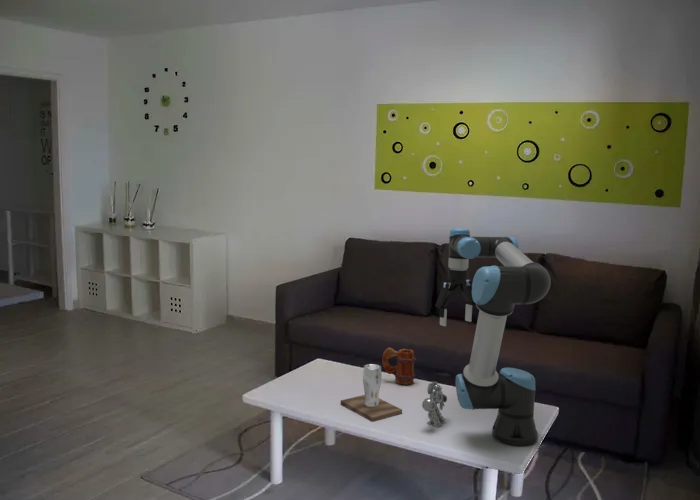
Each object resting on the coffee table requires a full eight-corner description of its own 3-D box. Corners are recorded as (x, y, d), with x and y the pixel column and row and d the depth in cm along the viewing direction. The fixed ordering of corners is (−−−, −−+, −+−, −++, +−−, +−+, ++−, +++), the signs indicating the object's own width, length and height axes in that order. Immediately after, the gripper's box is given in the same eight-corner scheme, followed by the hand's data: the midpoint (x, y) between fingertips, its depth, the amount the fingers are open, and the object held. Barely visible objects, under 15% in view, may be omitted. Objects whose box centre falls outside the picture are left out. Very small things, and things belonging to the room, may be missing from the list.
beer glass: (359, 402, 244) (360, 364, 242) (376, 400, 246) (377, 363, 244) (366, 409, 237) (367, 370, 235) (383, 407, 240) (384, 368, 238)
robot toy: (433, 433, 221) (434, 391, 219) (417, 429, 224) (418, 388, 222) (450, 419, 233) (451, 380, 231) (434, 416, 236) (436, 376, 234)
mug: (415, 380, 275) (417, 346, 273) (416, 386, 267) (417, 351, 265) (381, 378, 277) (382, 344, 275) (380, 385, 269) (381, 350, 267)
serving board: (402, 413, 238) (402, 409, 238) (372, 421, 230) (372, 417, 230) (369, 397, 254) (369, 393, 254) (340, 404, 246) (340, 400, 246)
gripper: (473, 265, 254) (471, 317, 256) (427, 269, 239) (425, 325, 242) (488, 267, 248) (485, 321, 250) (441, 272, 233) (438, 329, 236)
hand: (455, 323), depth 246 cm, fingers open, 13 cm apart
